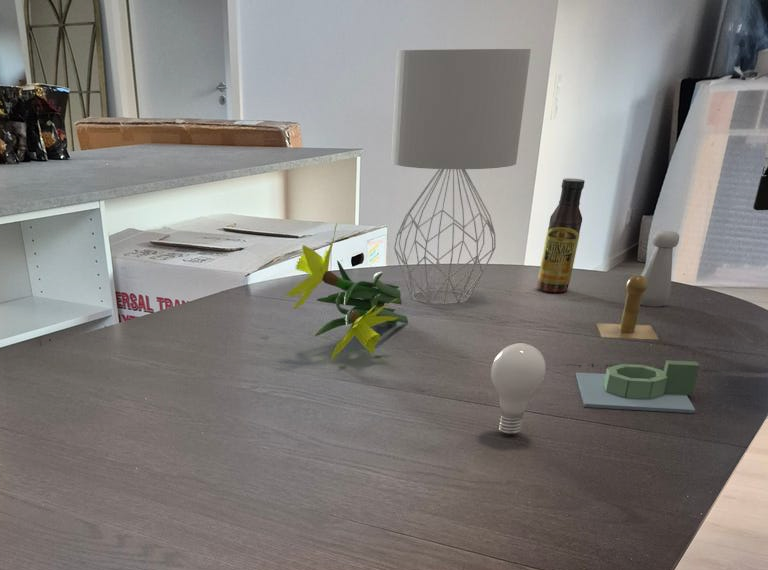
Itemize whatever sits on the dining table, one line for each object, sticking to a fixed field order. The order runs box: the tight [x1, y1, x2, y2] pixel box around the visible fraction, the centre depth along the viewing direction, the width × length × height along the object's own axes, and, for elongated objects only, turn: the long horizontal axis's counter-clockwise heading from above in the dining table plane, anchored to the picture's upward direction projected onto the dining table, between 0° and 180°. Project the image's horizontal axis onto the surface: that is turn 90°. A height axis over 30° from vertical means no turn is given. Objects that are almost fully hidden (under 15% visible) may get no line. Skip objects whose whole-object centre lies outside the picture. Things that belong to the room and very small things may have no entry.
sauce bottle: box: [536, 177, 585, 294], centre depth 165 cm, size 6×6×20 cm
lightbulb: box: [490, 342, 547, 437], centre depth 102 cm, size 6×6×11 cm
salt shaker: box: [640, 230, 680, 308], centre depth 155 cm, size 6×6×13 cm
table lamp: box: [390, 48, 532, 305], centre depth 155 cm, size 22×22×40 cm
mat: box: [575, 372, 696, 414], centre depth 118 cm, size 14×14×1 cm
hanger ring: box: [604, 359, 701, 399], centre depth 116 cm, size 11×8×4 cm, turn 79°
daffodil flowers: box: [285, 223, 409, 361], centre depth 135 cm, size 17×15×35 cm
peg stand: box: [596, 274, 660, 341], centre depth 140 cm, size 9×9×10 cm
